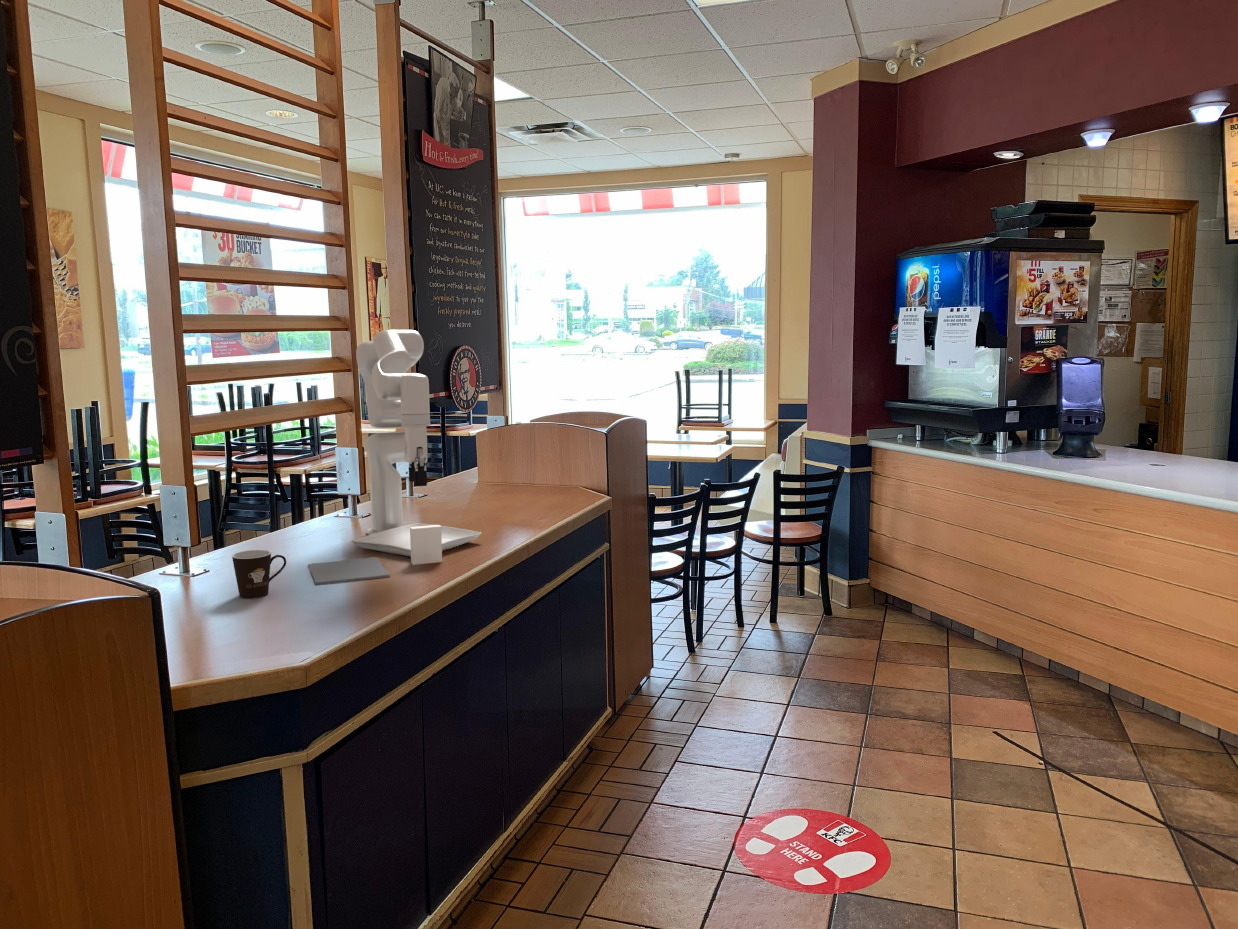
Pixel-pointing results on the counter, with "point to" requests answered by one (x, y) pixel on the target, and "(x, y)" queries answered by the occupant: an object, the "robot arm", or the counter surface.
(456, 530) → the square plate
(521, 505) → the counter surface
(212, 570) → the counter surface
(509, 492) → the counter surface
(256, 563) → the coffee mug
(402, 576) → the counter surface
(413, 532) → the tile
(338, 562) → the mat
